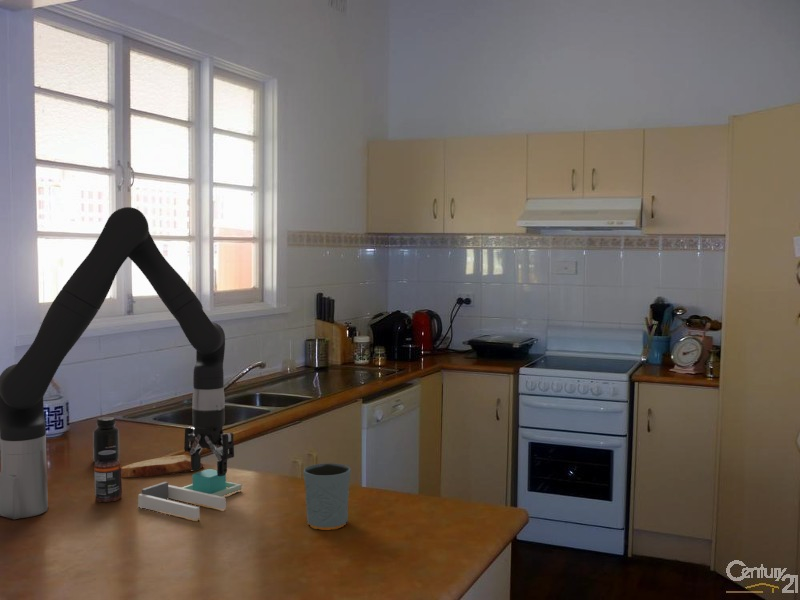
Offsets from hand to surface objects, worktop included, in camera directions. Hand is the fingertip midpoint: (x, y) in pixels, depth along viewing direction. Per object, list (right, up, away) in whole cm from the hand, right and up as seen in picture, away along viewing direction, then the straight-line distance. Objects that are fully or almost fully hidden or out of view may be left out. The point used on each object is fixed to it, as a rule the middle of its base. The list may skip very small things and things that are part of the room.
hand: (208, 472), depth 190 cm
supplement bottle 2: (-23, -6, -3) cm, 24 cm away
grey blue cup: (+30, -7, -20) cm, 37 cm away
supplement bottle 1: (-36, -4, +31) cm, 47 cm away
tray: (0, -5, +1) cm, 5 cm away
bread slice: (-18, -5, +21) cm, 28 cm away
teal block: (0, -5, +1) cm, 5 cm away
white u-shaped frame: (-4, -6, -11) cm, 13 cm away
